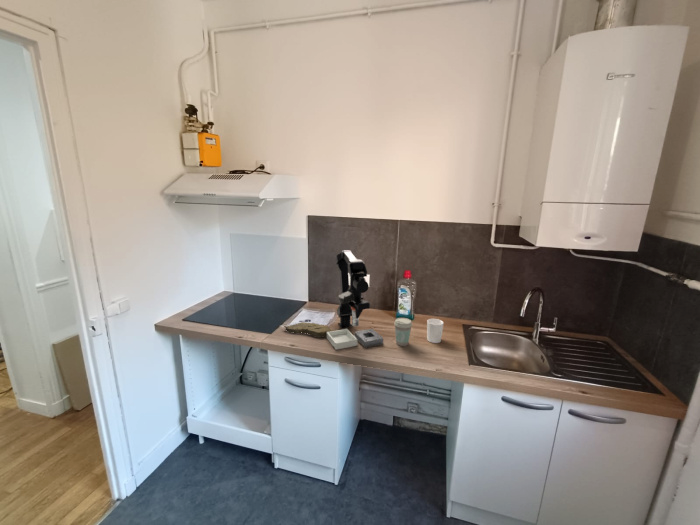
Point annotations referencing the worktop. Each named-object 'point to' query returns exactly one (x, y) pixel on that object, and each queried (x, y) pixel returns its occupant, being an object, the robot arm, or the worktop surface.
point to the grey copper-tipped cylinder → (354, 318)
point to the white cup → (434, 330)
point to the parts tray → (341, 339)
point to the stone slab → (309, 329)
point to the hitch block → (368, 338)
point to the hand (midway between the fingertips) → (355, 316)
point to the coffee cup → (402, 331)
